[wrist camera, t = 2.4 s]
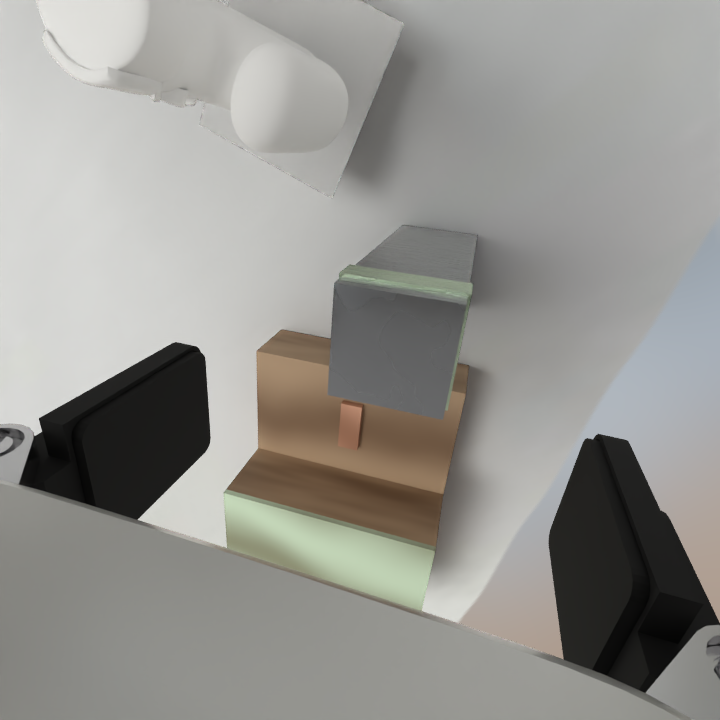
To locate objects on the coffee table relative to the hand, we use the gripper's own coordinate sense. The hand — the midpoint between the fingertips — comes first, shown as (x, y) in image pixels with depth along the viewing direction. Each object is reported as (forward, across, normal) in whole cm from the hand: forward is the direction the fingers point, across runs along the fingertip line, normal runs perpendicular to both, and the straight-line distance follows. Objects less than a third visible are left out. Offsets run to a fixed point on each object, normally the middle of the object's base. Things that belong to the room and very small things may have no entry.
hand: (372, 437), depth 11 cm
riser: (+16, +4, +13) cm, 21 cm away
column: (+16, +1, -1) cm, 16 cm away
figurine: (+16, +8, -9) cm, 20 cm away
